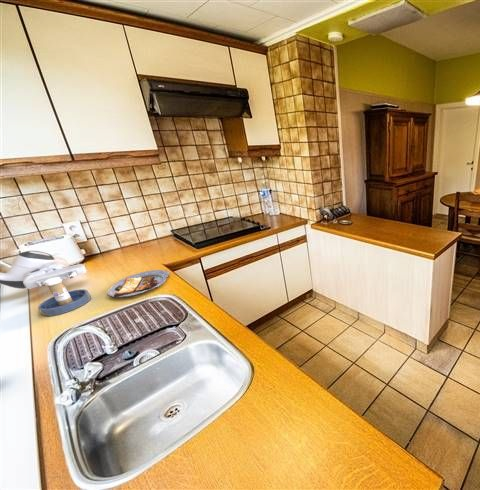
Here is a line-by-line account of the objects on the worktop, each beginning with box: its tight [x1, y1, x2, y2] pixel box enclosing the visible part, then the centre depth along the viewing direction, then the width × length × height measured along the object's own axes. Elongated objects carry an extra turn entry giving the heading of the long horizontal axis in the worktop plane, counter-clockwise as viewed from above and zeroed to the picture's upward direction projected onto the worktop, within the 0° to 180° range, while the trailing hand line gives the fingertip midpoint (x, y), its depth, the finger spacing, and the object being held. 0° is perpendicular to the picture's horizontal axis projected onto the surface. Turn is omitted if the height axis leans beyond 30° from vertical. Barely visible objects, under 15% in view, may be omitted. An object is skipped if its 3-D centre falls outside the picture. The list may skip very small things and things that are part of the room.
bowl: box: [37, 288, 92, 317], centre depth 120 cm, size 16×16×4 cm
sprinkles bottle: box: [45, 277, 73, 306], centre depth 117 cm, size 5×5×13 cm
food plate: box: [106, 269, 171, 299], centre depth 132 cm, size 25×23×4 cm
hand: (57, 280), depth 124 cm, fingers open, 8 cm apart
